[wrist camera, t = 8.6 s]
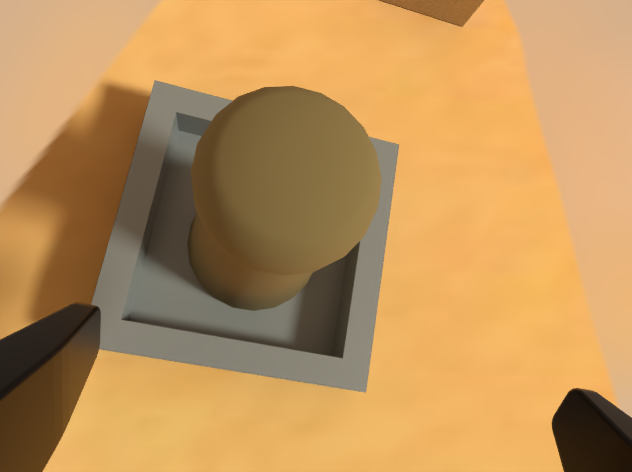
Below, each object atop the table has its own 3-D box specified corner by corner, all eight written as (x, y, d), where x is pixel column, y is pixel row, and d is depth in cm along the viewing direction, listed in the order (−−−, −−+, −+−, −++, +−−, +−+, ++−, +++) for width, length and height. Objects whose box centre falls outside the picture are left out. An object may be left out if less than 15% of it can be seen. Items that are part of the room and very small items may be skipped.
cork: (158, 256, 21) (111, 173, 11) (242, 158, 23) (273, 3, 12) (267, 338, 21) (328, 336, 11) (342, 234, 23) (455, 146, 13)
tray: (348, 386, 22) (365, 392, 20) (94, 345, 20) (79, 345, 18) (380, 163, 25) (398, 144, 23) (160, 107, 23) (154, 80, 21)
